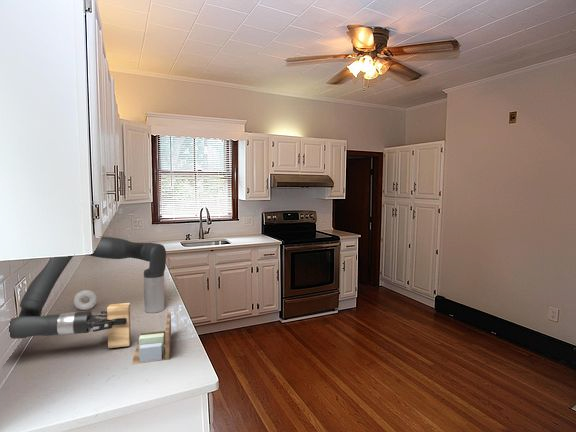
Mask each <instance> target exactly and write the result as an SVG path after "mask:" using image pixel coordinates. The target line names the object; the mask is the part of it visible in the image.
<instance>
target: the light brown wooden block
mask: <svg viewBox="0 0 576 432" xmlns="http://www.w3.org/2000/svg"><path fill="white" fill-rule="evenodd" d="M106 311H107V318H108V319H116V318H127V323H126V324H121V325H115V326H112V328H110V329H107V349H113V348H121V347H130V345H131V341H132V340H131V339H132V337H131V335H132V333H131V303H130V302H126V303H125V302H124V303H113V304H109V305H108V306H107V308H106Z"/></svg>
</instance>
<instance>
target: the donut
mask: <svg viewBox="0 0 576 432" xmlns="http://www.w3.org/2000/svg"><path fill="white" fill-rule="evenodd" d="M83 298H88V300H89V301H88V302H83V300H82V299H83ZM97 302H98V295H96V293H95V292H94V291H93V290H90V289H84V290H81V291H78V292H77V293H76V294H75V296H74V297H73V306H75V308H76V309H78V310H81V311H89V310H91V309H92V308H93V307H94V306H95V305H97Z"/></svg>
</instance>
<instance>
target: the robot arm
mask: <svg viewBox="0 0 576 432" xmlns="http://www.w3.org/2000/svg"><path fill="white" fill-rule="evenodd" d="M101 237H102V238H101V240H100V242H99V244H98V246H97V248H96V250H95V251H94V253H93V254H91V255H88V256H90V257H95V258H101V259H109V260H122V259H123V260H124V259H136V260H137V259H138V260H141V261H145V262H148V263H149V267H148V268H146V269H144V271H143V294H144V295H143V300H144V302H143V303H144V306H143V308H144V309H143V310H144V312H145V313H147V314H148V313H149V314H152V313H159V312H162V311H164V310H165V270H166V266H167V265H166V263H167V252H166V247H165V246H164V245H163V244H160V243H157V242H155V243H153V242H135V241H134V242H133V241H130V240H127V239H124V238H119V237H114V236H113V237H111V236H101ZM73 257H74V256H68V257H54V258H51V257H50V258H49V260H48V262H47V263H46V265H45V266H44V267H43V268H42V269H41V271H40V272H39V273H38V274H37V275H36V276H35V277H34V279H32V281H31V282H30V284H29V286H27V289H26V291H25V293H24V295H23V297H22V299H21V301H20V304H19V306H20V312H19V313H18V316H16V317H13V318H10V319H11V321H10V326H9V332H10V337H11V338H10V339H13V340H14V339H25V338H30V337H36V336H37V337H38V336H43V337H45V336H47V337H49V336H58V335H59V336H60V335H64V336H65V335H76V334H88V333H89V332H91V330H92V332H94V333H95V332H100V331H104V330H108V329H110V328H112V326H115V325H121V324H126V323H127V318H116V319H108V318H107V310H102V311H100V313H97V314H92V311H90V310H83V311H75V312H73V311H72V312H65V313H57V314H47V315H42V313H43V312H42V311H43V308H44V307H45V304H46V303H47V301H48V298H49V296H50V295H51V292H52V291H53V288H54V287H55V285H56V283H57V281H58V280H59V279H60V276H61V275H62V273H63V272H64V271H65V269H66V267H67V266H68V265H69V263H70V261H71V260H72V258H73Z"/></svg>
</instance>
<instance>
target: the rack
mask: <svg viewBox="0 0 576 432" xmlns="http://www.w3.org/2000/svg"><path fill="white" fill-rule="evenodd" d="M158 333H164V355H163V356H162V360H156V361H148V362H140V358H139V340H138V342H137V345H136V348H135V352H134V354H133V358H132V361H131V365H137V364H144V363H145V364H146V363H151V362H152V363H153V362H154V363H155V362H161V361H169V360H170V356H171V355H170V354H171V342H172V341H171V340H172V312H171V311H168V312H167V314H166V323H165V330H161V331H150V332H141V333H140V335H149V334H158Z"/></svg>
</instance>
